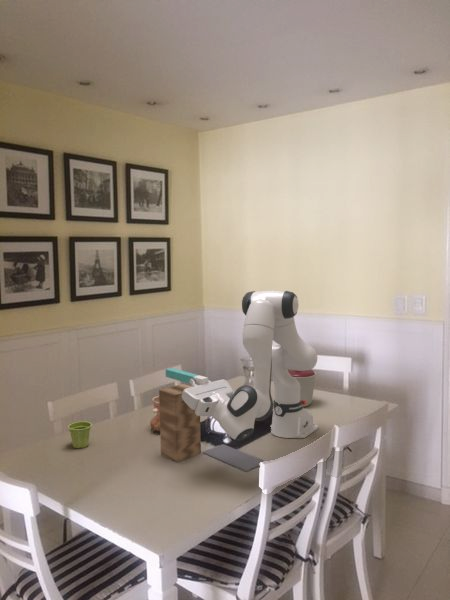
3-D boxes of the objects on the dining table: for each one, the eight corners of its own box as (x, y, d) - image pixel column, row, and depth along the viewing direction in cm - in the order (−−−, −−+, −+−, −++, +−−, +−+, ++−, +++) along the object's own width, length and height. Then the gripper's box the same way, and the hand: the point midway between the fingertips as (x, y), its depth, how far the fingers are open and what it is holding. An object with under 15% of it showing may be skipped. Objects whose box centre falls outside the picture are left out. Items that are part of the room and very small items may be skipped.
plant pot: (97, 443, 208) (96, 423, 207) (82, 451, 200) (81, 430, 199) (79, 440, 212) (78, 420, 211) (64, 448, 204) (63, 427, 203)
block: (171, 375, 199) (171, 368, 199) (208, 385, 183) (208, 377, 183) (165, 376, 197) (165, 369, 197) (202, 387, 181) (201, 379, 181)
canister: (319, 409, 247) (319, 368, 244) (282, 410, 247) (282, 368, 245) (313, 398, 265) (313, 359, 262) (278, 399, 265) (278, 360, 263)
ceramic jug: (166, 438, 212) (166, 406, 211) (141, 431, 220) (141, 400, 219) (192, 426, 227) (192, 396, 226) (168, 420, 235) (168, 391, 234)
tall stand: (184, 446, 204) (183, 383, 201) (200, 453, 197) (199, 388, 194) (161, 454, 196) (159, 389, 193) (176, 462, 188) (174, 395, 186)
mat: (223, 445, 204) (223, 444, 204) (266, 462, 187) (266, 461, 187) (202, 453, 197) (202, 451, 197) (246, 472, 179) (246, 470, 179)
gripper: (241, 391, 183) (219, 367, 191) (198, 403, 169) (176, 377, 177) (235, 403, 186) (213, 379, 194) (193, 417, 172) (171, 390, 180)
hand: (195, 378), depth 186 cm, fingers closed on block, 3 cm apart
